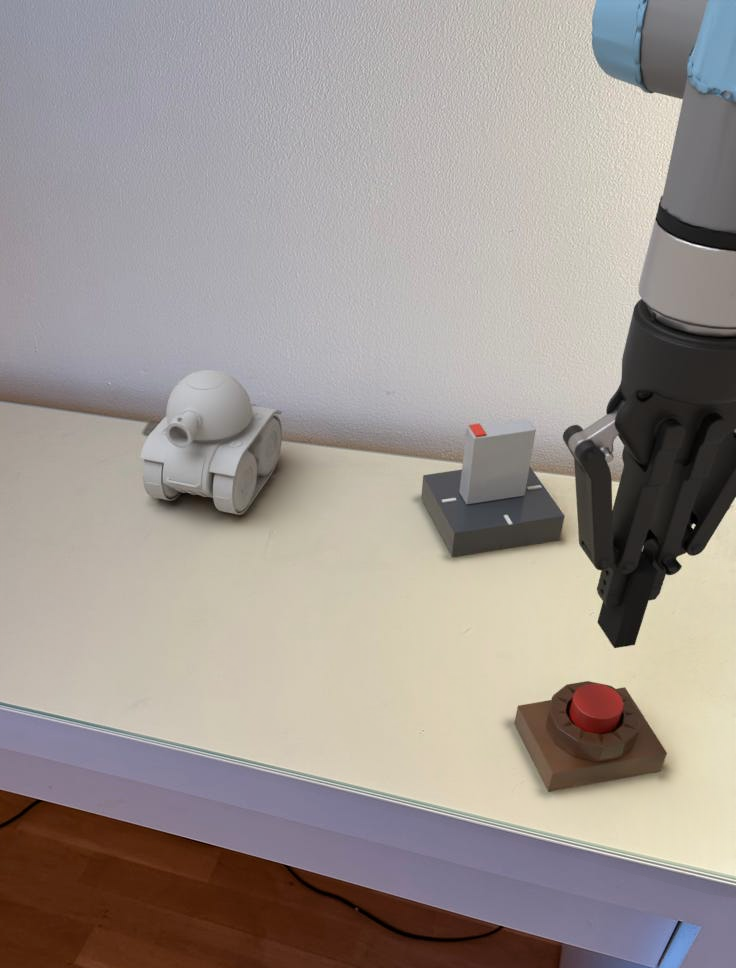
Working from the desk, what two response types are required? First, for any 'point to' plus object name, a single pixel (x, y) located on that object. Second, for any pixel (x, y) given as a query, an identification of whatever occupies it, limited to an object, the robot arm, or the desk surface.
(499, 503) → the plate
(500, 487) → the grey rectangular block
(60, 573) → the desk surface
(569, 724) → the button block
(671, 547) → the robot arm
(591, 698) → the button
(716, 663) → the desk surface
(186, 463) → the toy tank
